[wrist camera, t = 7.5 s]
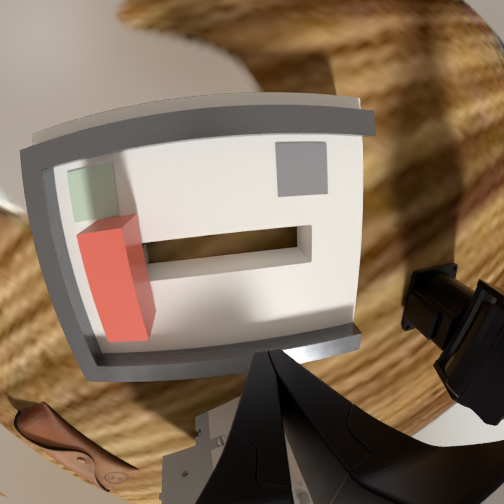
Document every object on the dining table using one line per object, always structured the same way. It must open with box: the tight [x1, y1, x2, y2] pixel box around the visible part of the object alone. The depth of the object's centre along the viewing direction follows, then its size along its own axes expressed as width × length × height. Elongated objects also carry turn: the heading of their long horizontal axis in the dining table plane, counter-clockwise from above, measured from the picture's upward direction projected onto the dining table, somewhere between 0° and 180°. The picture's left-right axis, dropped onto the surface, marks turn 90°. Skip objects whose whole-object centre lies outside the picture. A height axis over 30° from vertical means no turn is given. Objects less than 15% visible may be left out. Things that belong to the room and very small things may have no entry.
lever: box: [76, 214, 156, 342], centre depth 15 cm, size 2×6×6 cm, turn 3°
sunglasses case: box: [14, 402, 140, 492], centre depth 24 cm, size 18×7×7 cm
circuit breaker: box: [159, 396, 314, 504], centre depth 19 cm, size 8×14×15 cm, turn 122°
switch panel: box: [32, 92, 363, 353], centre depth 18 cm, size 20×18×3 cm
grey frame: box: [20, 105, 375, 382], centre depth 16 cm, size 20×16×2 cm
